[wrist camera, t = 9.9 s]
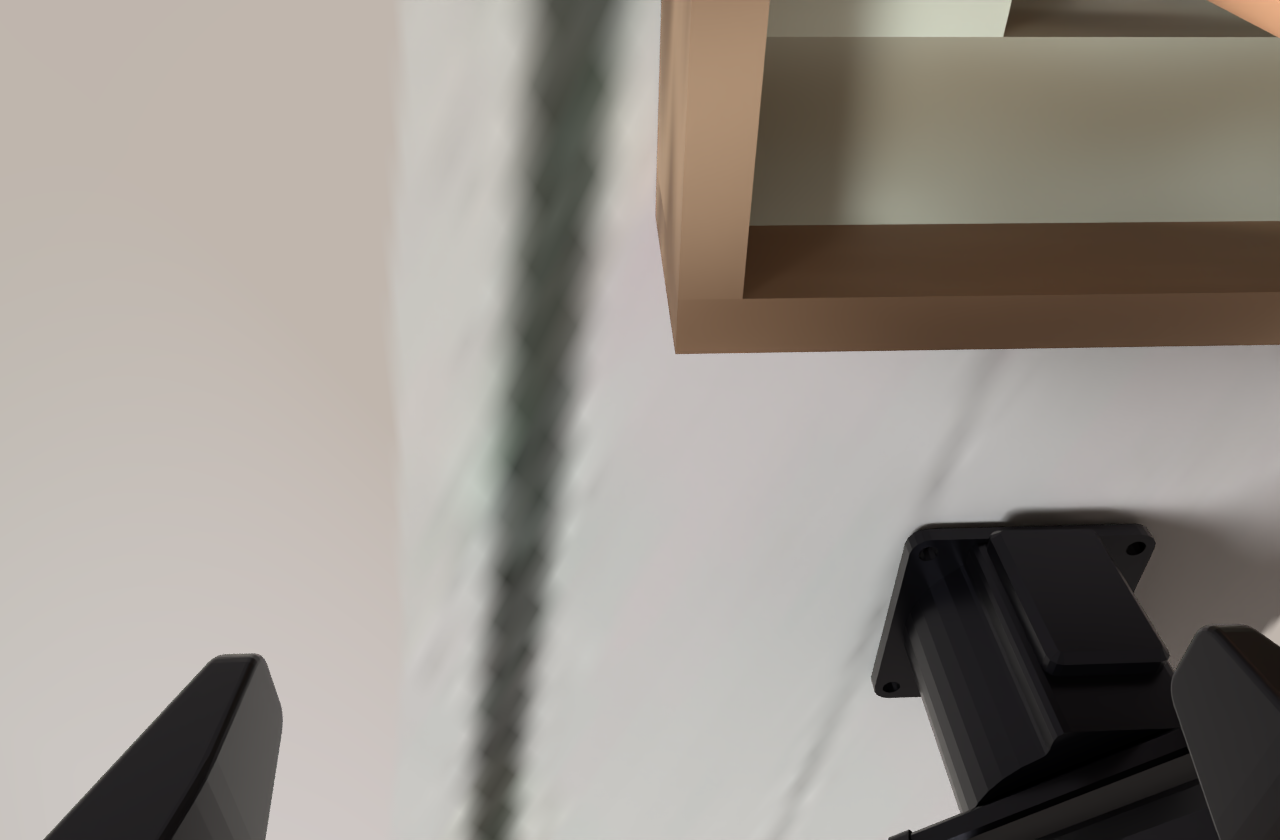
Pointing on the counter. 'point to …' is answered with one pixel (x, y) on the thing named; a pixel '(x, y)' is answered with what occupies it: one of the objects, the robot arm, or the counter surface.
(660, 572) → the counter surface
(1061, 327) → the bore box
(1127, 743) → the robot arm
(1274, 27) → the peg
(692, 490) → the counter surface
